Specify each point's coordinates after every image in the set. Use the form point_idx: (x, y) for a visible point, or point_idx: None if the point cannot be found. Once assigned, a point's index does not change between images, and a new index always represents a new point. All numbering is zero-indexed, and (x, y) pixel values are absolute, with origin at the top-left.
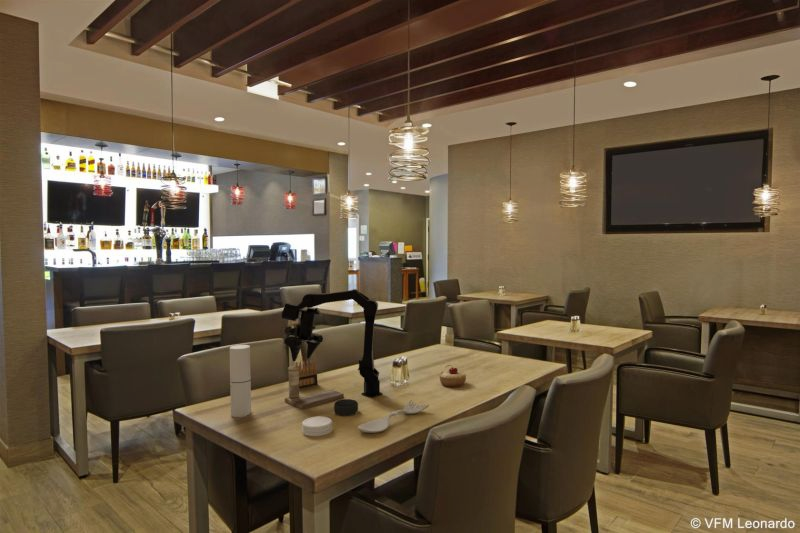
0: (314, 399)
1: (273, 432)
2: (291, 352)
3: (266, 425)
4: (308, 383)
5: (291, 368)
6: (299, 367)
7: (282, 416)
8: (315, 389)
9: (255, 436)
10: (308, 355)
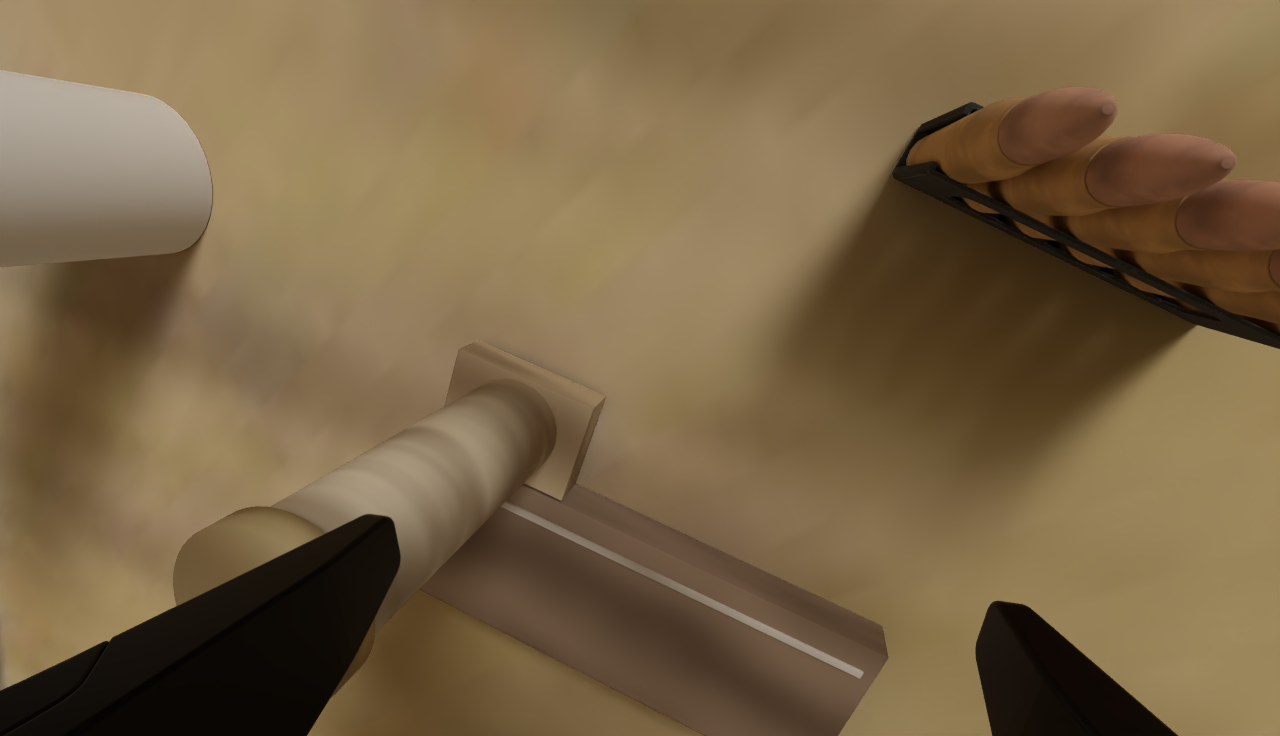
0: (553, 612)
1: (117, 570)
2: (77, 675)
3: (144, 483)
4: (1088, 262)
5: None
6: None
7: (277, 493)
8: (989, 392)
9: (43, 513)
10: (1014, 712)
